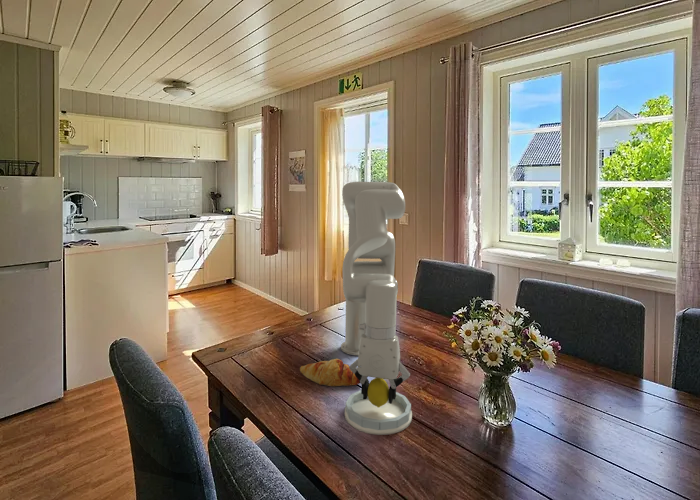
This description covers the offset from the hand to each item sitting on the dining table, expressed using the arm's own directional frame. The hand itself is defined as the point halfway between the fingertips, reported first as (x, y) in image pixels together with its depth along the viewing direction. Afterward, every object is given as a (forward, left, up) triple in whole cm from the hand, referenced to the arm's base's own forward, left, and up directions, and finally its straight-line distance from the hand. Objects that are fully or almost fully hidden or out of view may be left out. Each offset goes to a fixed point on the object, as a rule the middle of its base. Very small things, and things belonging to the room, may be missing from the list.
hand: (378, 398), depth 103 cm
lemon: (0, 0, -3) cm, 3 cm away
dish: (0, 0, -4) cm, 4 cm away
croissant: (-14, -17, -5) cm, 23 cm away
